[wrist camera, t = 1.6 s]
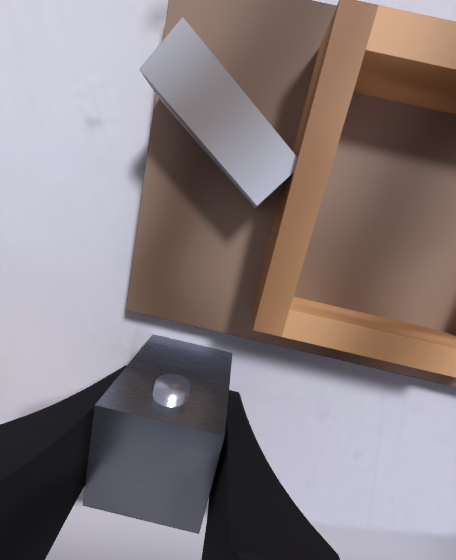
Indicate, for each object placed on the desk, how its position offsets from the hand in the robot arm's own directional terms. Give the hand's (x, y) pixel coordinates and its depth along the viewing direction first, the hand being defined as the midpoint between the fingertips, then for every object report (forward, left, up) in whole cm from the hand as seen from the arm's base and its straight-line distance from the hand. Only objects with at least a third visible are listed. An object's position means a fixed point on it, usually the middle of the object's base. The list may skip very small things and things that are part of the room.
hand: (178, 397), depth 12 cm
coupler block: (0, 0, -1) cm, 1 cm away
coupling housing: (-7, -10, -1) cm, 12 cm away
